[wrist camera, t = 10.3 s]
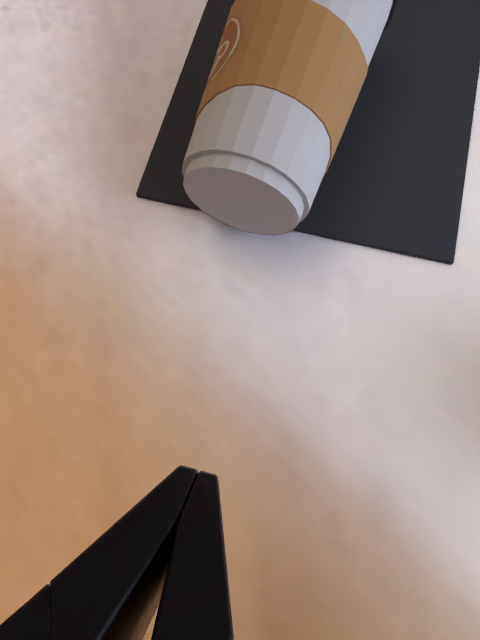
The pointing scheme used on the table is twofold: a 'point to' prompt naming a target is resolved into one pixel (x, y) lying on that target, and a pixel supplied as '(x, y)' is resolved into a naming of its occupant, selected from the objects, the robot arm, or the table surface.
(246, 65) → the coffee cup
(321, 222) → the mat
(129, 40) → the table surface
